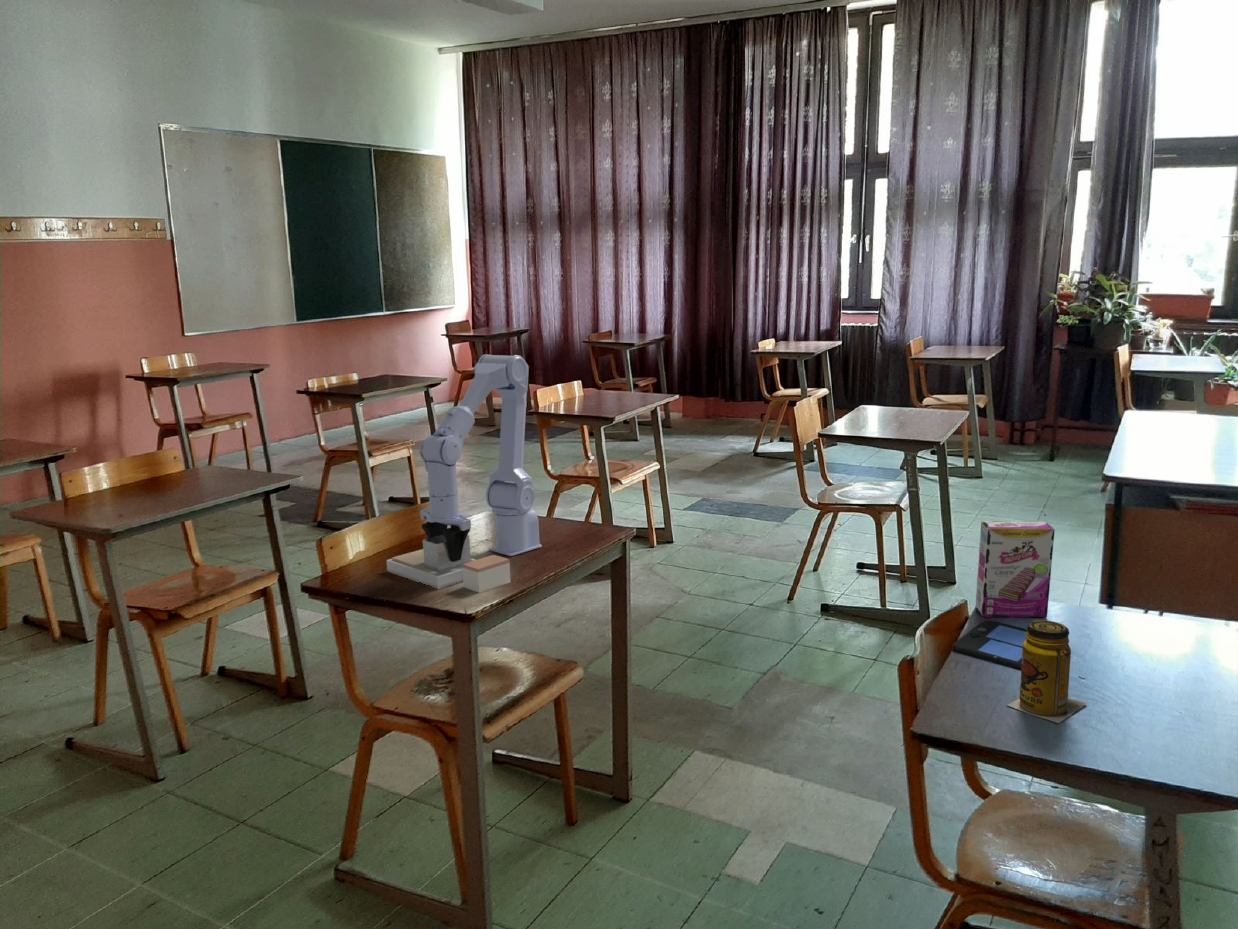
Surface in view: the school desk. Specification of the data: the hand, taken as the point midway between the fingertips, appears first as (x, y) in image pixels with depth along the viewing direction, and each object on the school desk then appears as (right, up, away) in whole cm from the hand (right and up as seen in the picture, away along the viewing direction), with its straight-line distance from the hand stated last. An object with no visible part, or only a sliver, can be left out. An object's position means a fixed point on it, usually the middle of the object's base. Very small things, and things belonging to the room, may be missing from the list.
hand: (447, 558), depth 191 cm
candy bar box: (+105, -7, -28) cm, 108 cm away
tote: (-3, -4, +4) cm, 6 cm away
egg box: (+9, -5, -5) cm, 11 cm away
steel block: (0, -2, 0) cm, 2 cm away
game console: (+98, -11, -43) cm, 108 cm away
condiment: (+95, -15, -62) cm, 114 cm away
